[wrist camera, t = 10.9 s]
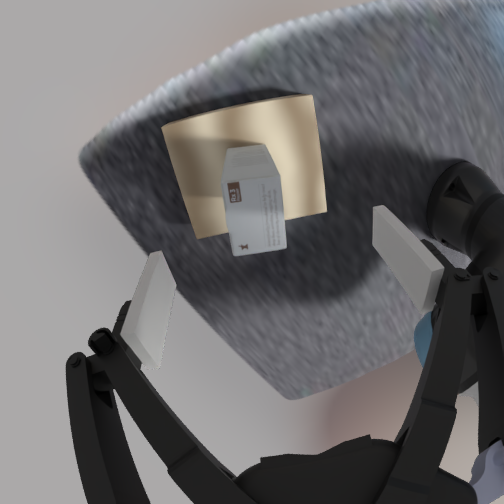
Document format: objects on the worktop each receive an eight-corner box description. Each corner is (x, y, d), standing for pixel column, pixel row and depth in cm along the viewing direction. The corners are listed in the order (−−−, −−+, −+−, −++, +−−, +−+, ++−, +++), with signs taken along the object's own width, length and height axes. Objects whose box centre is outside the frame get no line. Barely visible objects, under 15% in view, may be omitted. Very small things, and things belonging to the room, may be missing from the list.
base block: (302, 93, 29) (312, 94, 26) (317, 198, 37) (326, 211, 33) (168, 122, 30) (161, 127, 26) (199, 224, 37) (196, 239, 34)
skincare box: (271, 193, 31) (292, 252, 21) (231, 199, 31) (233, 261, 21) (265, 140, 28) (287, 174, 18) (222, 146, 28) (218, 183, 18)
